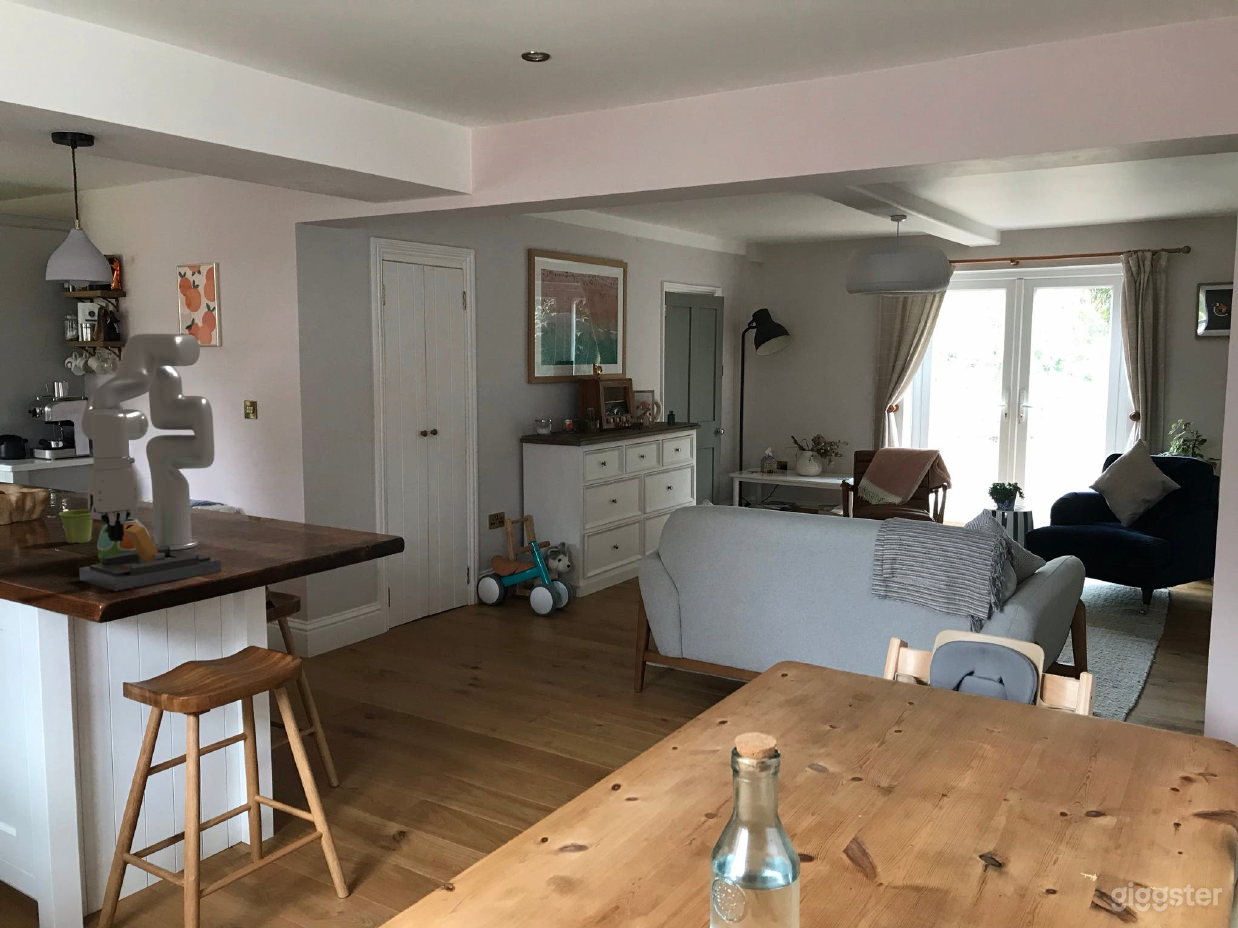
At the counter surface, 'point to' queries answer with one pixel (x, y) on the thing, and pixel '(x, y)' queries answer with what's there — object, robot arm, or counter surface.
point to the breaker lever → (142, 542)
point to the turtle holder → (118, 547)
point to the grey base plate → (121, 579)
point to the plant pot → (77, 525)
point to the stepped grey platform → (151, 566)
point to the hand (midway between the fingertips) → (116, 540)
